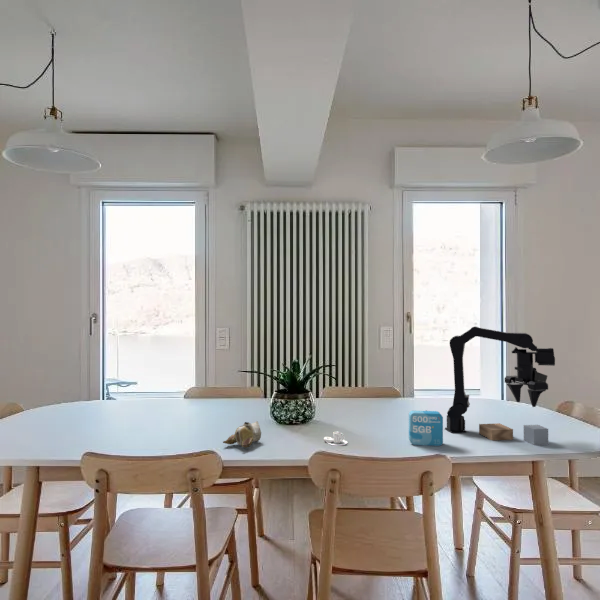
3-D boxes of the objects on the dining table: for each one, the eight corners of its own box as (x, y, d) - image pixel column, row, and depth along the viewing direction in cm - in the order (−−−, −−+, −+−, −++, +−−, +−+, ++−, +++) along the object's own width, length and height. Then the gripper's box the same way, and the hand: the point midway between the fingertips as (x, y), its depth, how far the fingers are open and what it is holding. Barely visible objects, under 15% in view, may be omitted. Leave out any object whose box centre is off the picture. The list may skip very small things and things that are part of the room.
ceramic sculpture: (268, 418, 170) (243, 430, 158) (269, 441, 171) (244, 454, 158) (246, 415, 176) (220, 426, 163) (247, 437, 176) (221, 449, 164)
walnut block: (491, 440, 174) (491, 430, 174) (479, 433, 183) (479, 424, 183) (513, 439, 175) (512, 429, 175) (499, 433, 184) (499, 423, 184)
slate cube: (533, 445, 168) (533, 429, 168) (523, 440, 174) (523, 425, 174) (548, 444, 169) (548, 428, 169) (537, 440, 175) (537, 424, 175)
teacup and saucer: (320, 442, 171) (320, 432, 171) (334, 438, 176) (334, 428, 177) (338, 448, 165) (338, 437, 165) (351, 443, 170) (351, 432, 170)
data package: (410, 445, 168) (410, 412, 168) (408, 441, 172) (408, 410, 172) (443, 446, 166) (443, 413, 166) (440, 442, 171) (440, 411, 171)
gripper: (560, 367, 169) (561, 408, 169) (527, 361, 187) (528, 398, 187) (534, 368, 167) (535, 409, 167) (503, 362, 185) (504, 400, 185)
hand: (525, 404), depth 176 cm, fingers open, 9 cm apart
